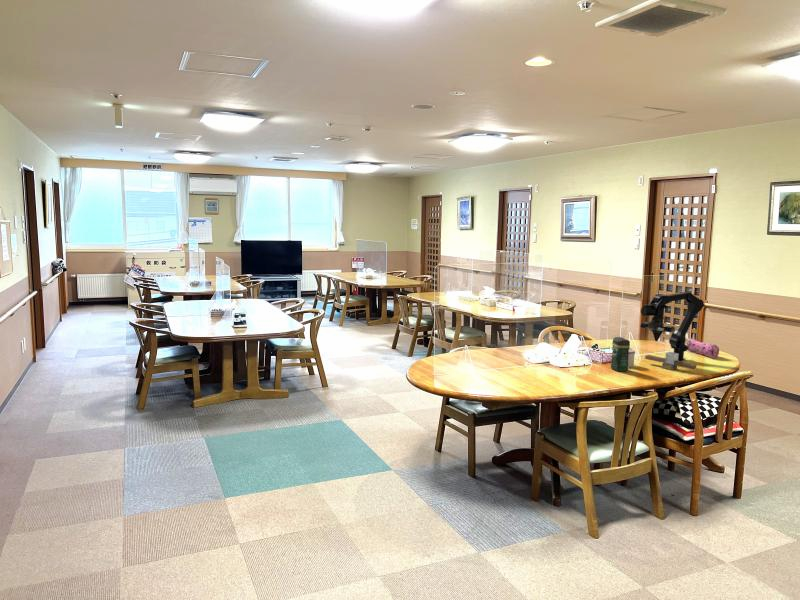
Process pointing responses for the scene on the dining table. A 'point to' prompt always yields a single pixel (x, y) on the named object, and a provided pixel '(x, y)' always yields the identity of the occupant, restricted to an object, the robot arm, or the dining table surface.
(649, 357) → the beam
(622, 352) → the coffee jar
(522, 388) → the dining table surface
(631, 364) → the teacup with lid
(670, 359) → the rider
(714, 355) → the pencil case
